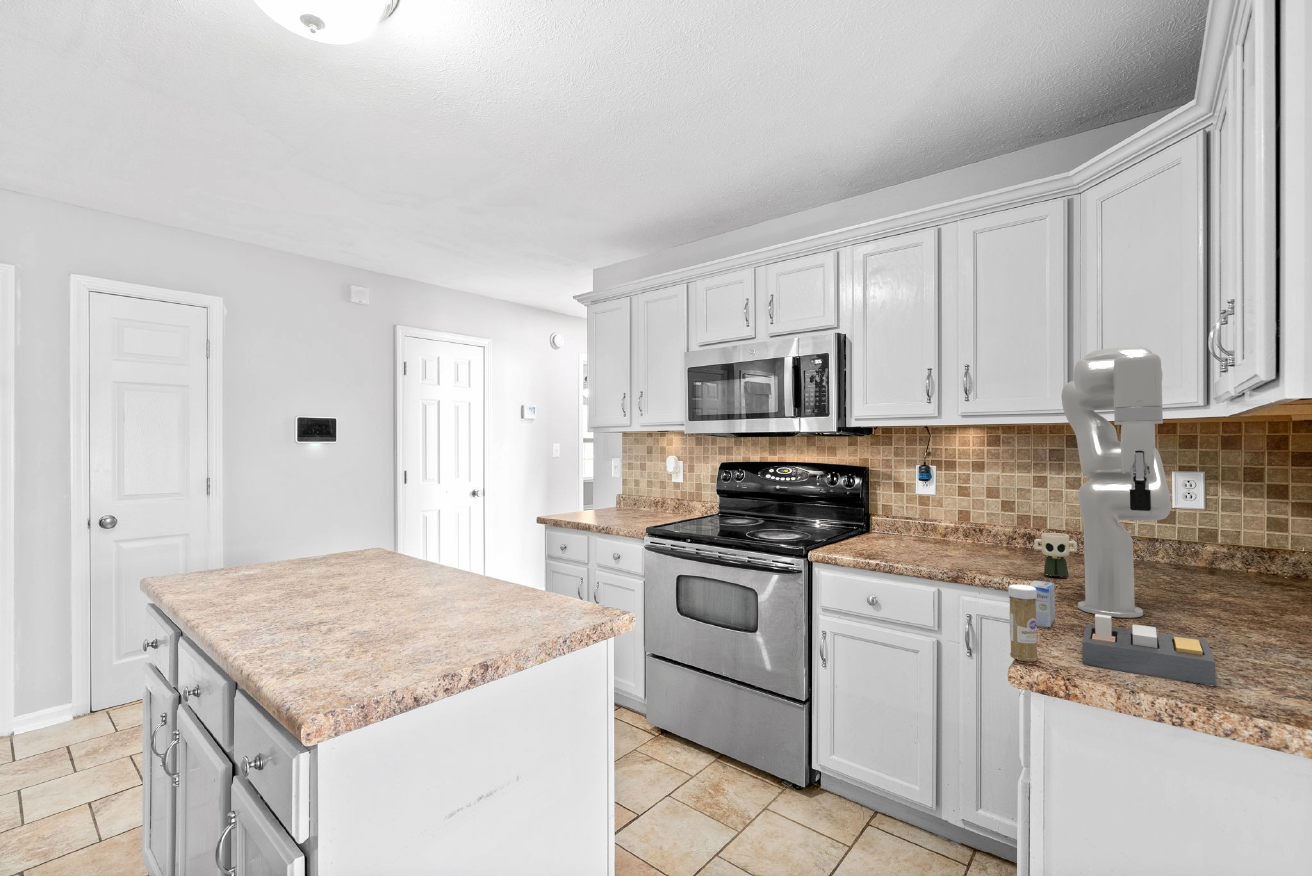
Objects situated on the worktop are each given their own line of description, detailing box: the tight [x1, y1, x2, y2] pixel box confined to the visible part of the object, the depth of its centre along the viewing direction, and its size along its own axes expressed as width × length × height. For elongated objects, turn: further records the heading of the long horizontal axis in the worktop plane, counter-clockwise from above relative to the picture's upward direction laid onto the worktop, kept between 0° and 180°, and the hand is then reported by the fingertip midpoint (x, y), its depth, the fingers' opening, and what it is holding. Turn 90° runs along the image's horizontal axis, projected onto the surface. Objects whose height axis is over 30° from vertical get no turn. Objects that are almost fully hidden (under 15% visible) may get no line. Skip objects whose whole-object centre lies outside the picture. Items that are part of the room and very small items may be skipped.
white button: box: [1132, 624, 1157, 648], centre depth 113 cm, size 8×3×2 cm, turn 143°
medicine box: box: [1028, 580, 1056, 628], centre depth 140 cm, size 8×4×9 cm, turn 141°
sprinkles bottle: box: [1007, 584, 1039, 663], centre depth 116 cm, size 5×5×14 cm
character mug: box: [1033, 532, 1078, 577], centre depth 189 cm, size 11×7×13 cm, turn 58°
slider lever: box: [1092, 614, 1115, 642], centre depth 115 cm, size 4×3×5 cm
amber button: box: [1174, 637, 1203, 655], centre depth 109 cm, size 8×3×2 cm, turn 143°
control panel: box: [1082, 623, 1217, 687], centre depth 113 cm, size 15×18×4 cm
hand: (1140, 510), depth 121 cm, fingers closed
